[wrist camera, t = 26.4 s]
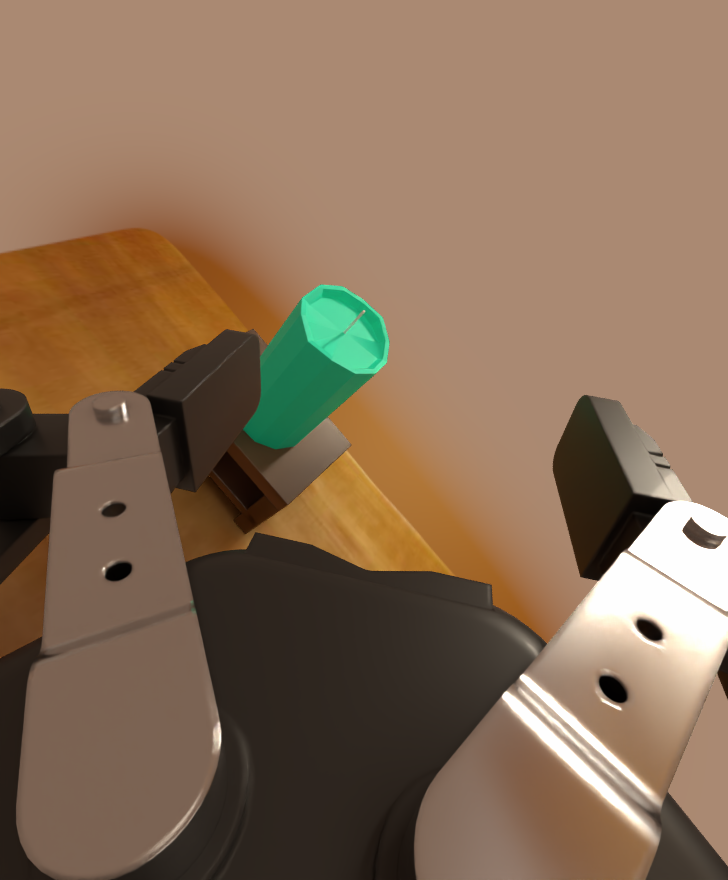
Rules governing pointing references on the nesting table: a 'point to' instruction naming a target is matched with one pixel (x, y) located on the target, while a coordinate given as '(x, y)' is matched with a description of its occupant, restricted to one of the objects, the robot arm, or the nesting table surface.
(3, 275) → the nesting table surface
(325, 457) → the stand
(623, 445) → the robot arm
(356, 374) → the candle
